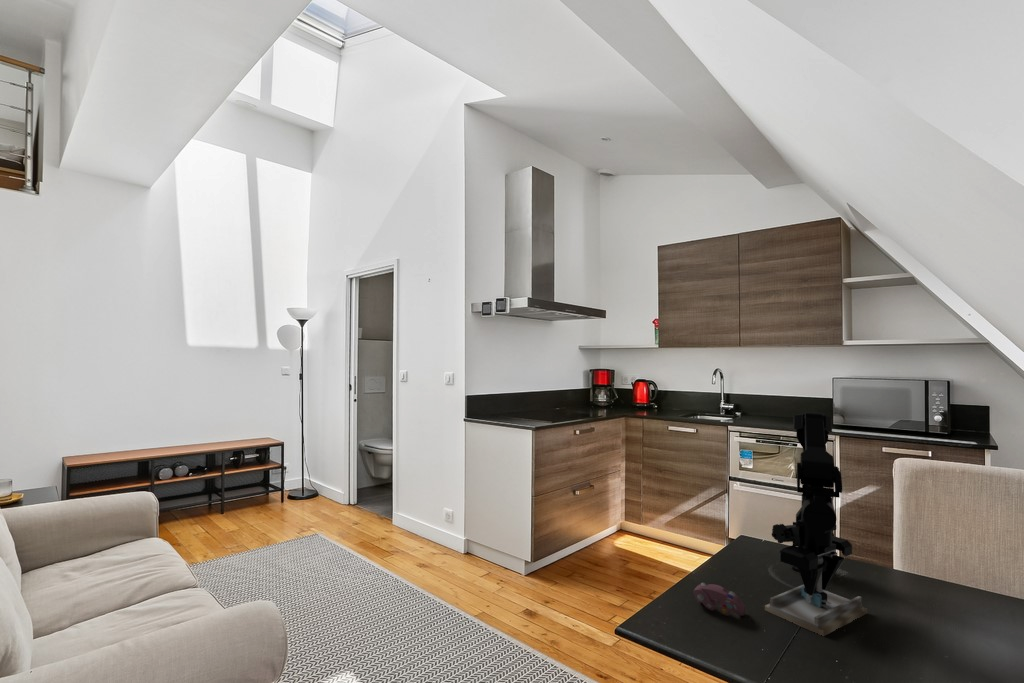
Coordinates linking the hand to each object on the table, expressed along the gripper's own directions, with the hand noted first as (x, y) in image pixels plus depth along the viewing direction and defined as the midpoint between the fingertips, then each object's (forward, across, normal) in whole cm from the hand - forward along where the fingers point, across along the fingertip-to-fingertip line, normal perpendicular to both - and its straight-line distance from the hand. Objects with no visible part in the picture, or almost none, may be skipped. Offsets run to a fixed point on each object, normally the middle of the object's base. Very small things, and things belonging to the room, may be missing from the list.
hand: (816, 591), depth 111 cm
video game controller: (+4, +18, -11) cm, 22 cm away
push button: (+3, 0, 0) cm, 3 cm away
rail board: (+4, 0, 0) cm, 4 cm away
